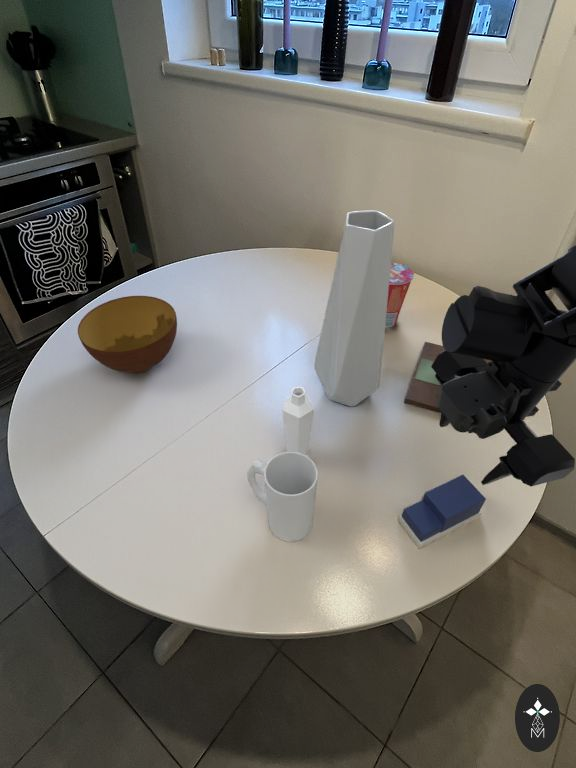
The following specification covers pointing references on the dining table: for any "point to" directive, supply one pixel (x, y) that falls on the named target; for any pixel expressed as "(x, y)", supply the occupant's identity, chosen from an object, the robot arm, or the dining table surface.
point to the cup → (397, 291)
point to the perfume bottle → (297, 420)
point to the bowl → (129, 332)
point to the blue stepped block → (442, 511)
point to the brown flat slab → (426, 380)
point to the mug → (287, 493)
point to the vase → (356, 309)
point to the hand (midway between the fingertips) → (462, 453)
